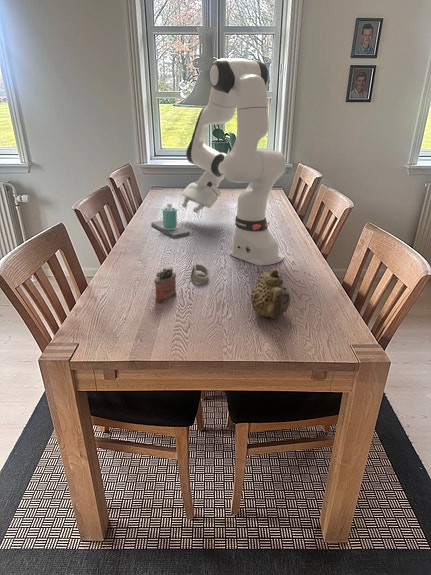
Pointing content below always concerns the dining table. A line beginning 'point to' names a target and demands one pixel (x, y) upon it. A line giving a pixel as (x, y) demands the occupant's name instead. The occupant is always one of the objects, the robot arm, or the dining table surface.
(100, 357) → the dining table surface
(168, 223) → the collar
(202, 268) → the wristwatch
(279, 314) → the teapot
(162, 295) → the lighter
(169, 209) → the post stand
